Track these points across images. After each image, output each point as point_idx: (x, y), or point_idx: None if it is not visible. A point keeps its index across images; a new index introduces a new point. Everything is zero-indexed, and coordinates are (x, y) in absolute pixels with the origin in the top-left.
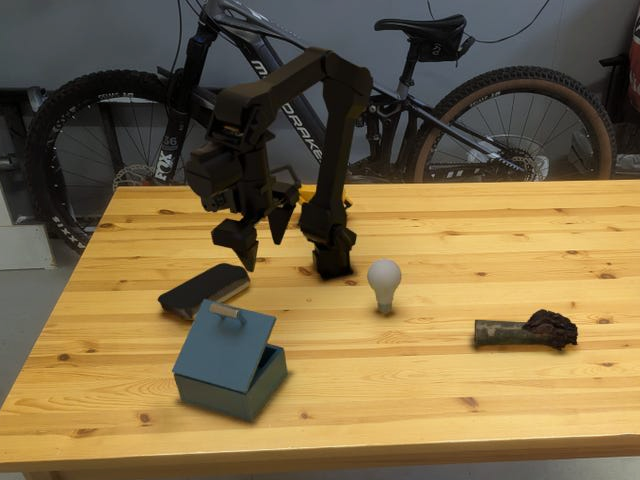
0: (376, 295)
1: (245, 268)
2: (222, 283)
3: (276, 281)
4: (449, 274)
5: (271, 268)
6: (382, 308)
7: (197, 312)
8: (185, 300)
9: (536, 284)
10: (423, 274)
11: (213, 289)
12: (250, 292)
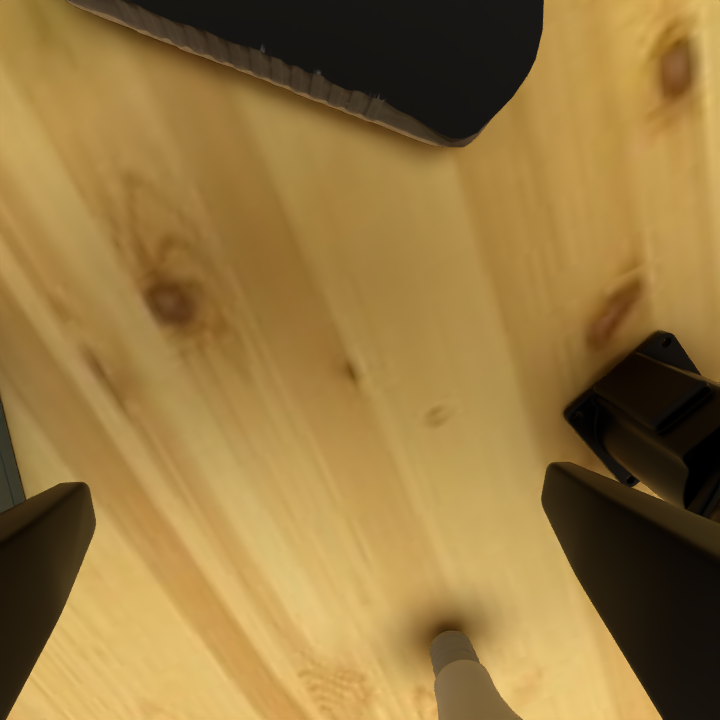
0: (446, 700)
1: (31, 498)
2: (342, 32)
3: (524, 237)
4: None
5: (615, 164)
6: (433, 663)
7: (93, 9)
8: None
9: None
10: None
11: (264, 8)
12: (418, 164)
